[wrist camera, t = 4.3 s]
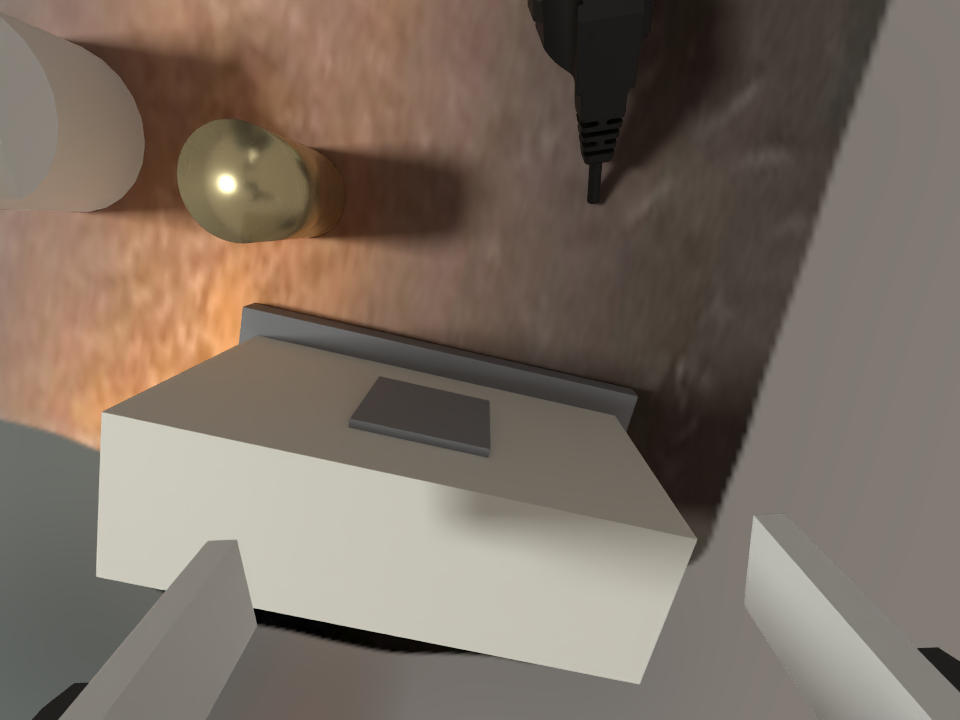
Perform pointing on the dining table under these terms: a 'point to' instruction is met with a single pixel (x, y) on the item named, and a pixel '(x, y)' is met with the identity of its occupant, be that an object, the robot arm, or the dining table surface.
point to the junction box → (400, 493)
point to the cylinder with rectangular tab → (63, 125)
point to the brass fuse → (257, 184)
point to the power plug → (595, 65)
